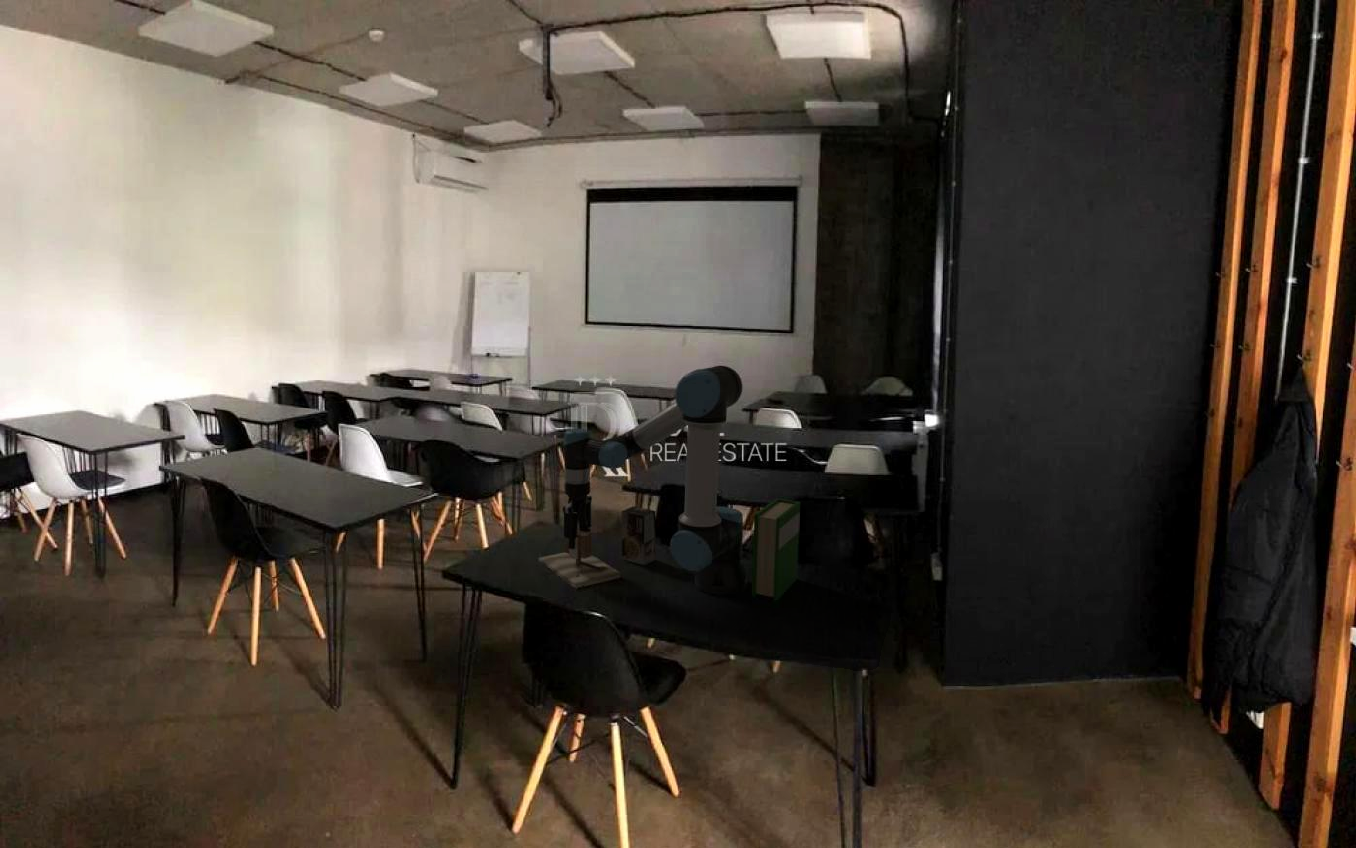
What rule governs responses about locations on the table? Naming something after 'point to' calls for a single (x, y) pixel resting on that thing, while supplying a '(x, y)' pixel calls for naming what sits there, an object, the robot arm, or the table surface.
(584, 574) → the striped wooden board
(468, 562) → the table surface
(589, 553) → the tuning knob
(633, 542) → the coffee box
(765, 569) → the hardback book
